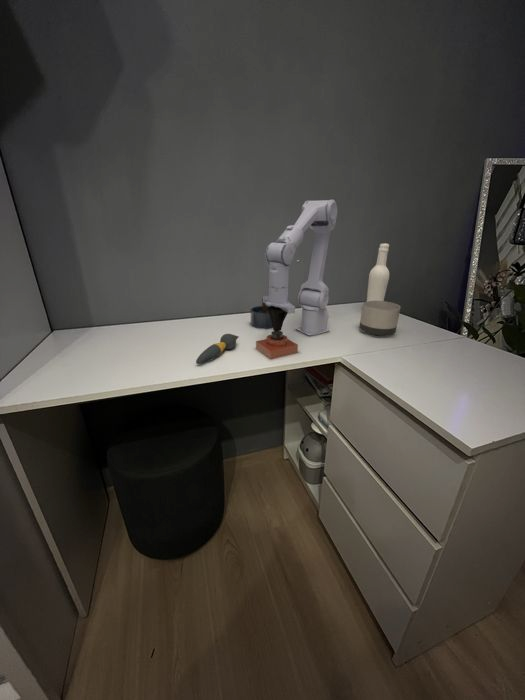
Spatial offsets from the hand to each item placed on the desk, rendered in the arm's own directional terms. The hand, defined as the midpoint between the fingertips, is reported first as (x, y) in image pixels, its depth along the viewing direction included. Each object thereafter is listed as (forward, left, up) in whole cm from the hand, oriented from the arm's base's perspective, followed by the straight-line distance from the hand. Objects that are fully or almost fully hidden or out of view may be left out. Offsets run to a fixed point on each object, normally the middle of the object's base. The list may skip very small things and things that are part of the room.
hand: (277, 330), depth 92 cm
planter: (-42, +4, -7) cm, 43 cm away
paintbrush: (+17, -6, -7) cm, 19 cm away
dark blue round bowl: (-10, -24, -7) cm, 27 cm away
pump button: (0, 0, -3) cm, 3 cm away
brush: (-10, -24, -7) cm, 27 cm away
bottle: (-57, -11, -7) cm, 58 cm away
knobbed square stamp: (0, 0, -7) cm, 7 cm away
